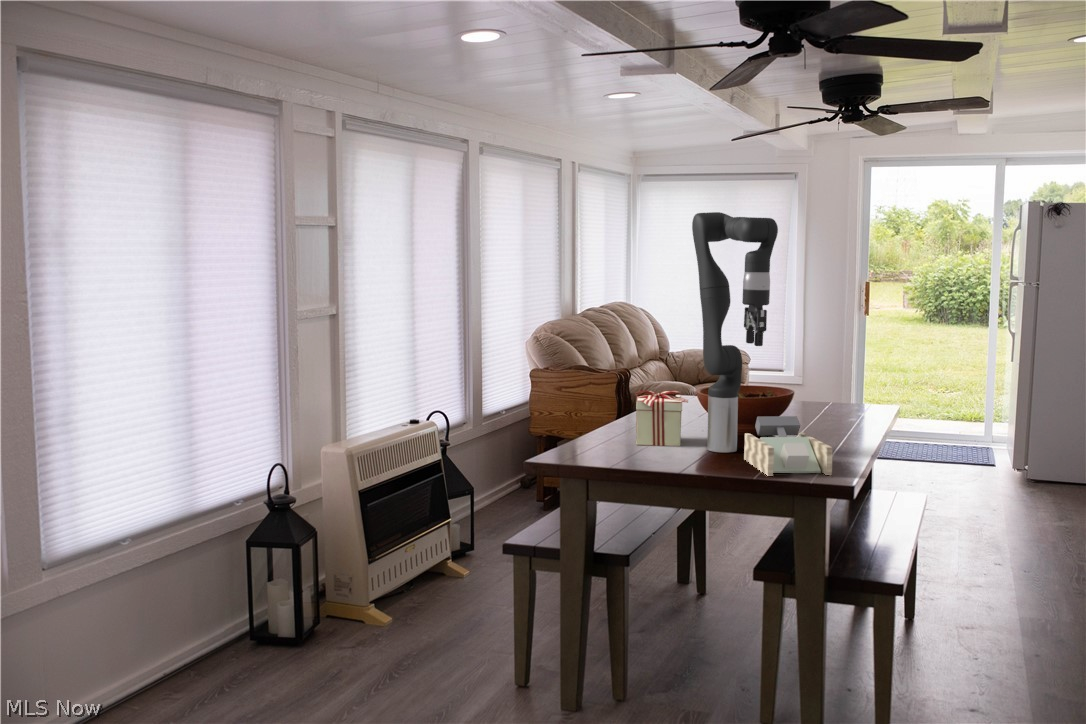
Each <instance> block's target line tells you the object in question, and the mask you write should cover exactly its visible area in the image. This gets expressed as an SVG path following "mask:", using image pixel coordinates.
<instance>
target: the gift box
mask: <svg viewBox="0 0 1086 724" xmlns="http://www.w3.org/2000/svg"><path fill="white" fill-rule="evenodd" d="M634 393H635V396H636V402H635V403H636V404H635V406H636V407H635V410H636V415H635V418H636V421H635V423H636V424H635V427H636V428H635V430H636V432H635V433H636V435H635V443H636V444H635V445H637V446H651V447H652V446H653V447H655V446H656V447H681V438H682V437H681V435H682V434H681V433H682V432H681V431H682V430H681V429H682V412H683V403H689V399H686V398H682V392H680V391H678V390H672V391H668V390H663V391H662V392H660V393H659V392H658V393H656V392H654V391H652V390H639V391H636V392H634Z"/></svg>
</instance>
